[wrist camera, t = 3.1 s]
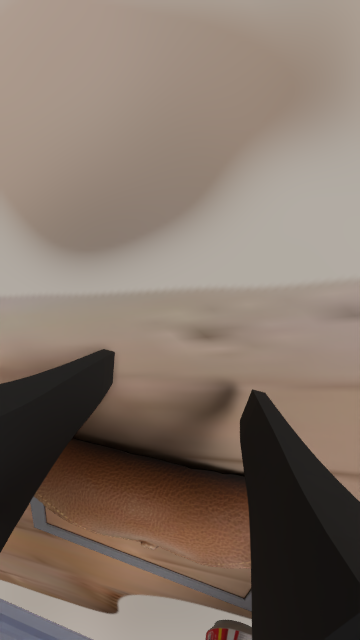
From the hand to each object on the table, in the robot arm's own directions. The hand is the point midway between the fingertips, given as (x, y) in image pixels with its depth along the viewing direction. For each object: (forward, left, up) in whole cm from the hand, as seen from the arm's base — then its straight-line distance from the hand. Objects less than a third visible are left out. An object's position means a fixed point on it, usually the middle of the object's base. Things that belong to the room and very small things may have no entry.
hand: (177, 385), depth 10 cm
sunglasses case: (0, +11, -2) cm, 11 cm away
